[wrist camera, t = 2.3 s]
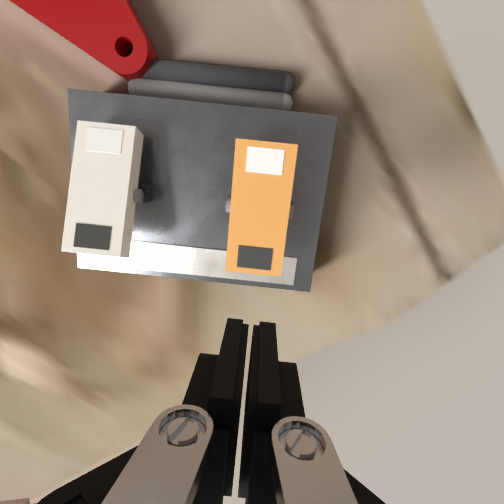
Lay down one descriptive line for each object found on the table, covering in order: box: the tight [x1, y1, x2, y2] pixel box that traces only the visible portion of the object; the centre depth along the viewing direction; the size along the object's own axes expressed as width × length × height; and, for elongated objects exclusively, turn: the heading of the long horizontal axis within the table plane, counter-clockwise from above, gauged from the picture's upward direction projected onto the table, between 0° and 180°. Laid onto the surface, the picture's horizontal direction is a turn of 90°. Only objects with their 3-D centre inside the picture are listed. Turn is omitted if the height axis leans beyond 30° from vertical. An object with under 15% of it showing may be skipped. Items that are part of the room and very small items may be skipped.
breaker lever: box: [225, 138, 298, 277], centre depth 22 cm, size 9×5×2 cm, turn 175°
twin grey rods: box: [128, 59, 295, 111], centre depth 26 cm, size 3×14×2 cm, turn 85°
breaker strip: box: [68, 89, 338, 292], centre depth 26 cm, size 14×20×6 cm
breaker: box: [61, 120, 144, 258], centre depth 22 cm, size 9×5×2 cm, turn 175°
